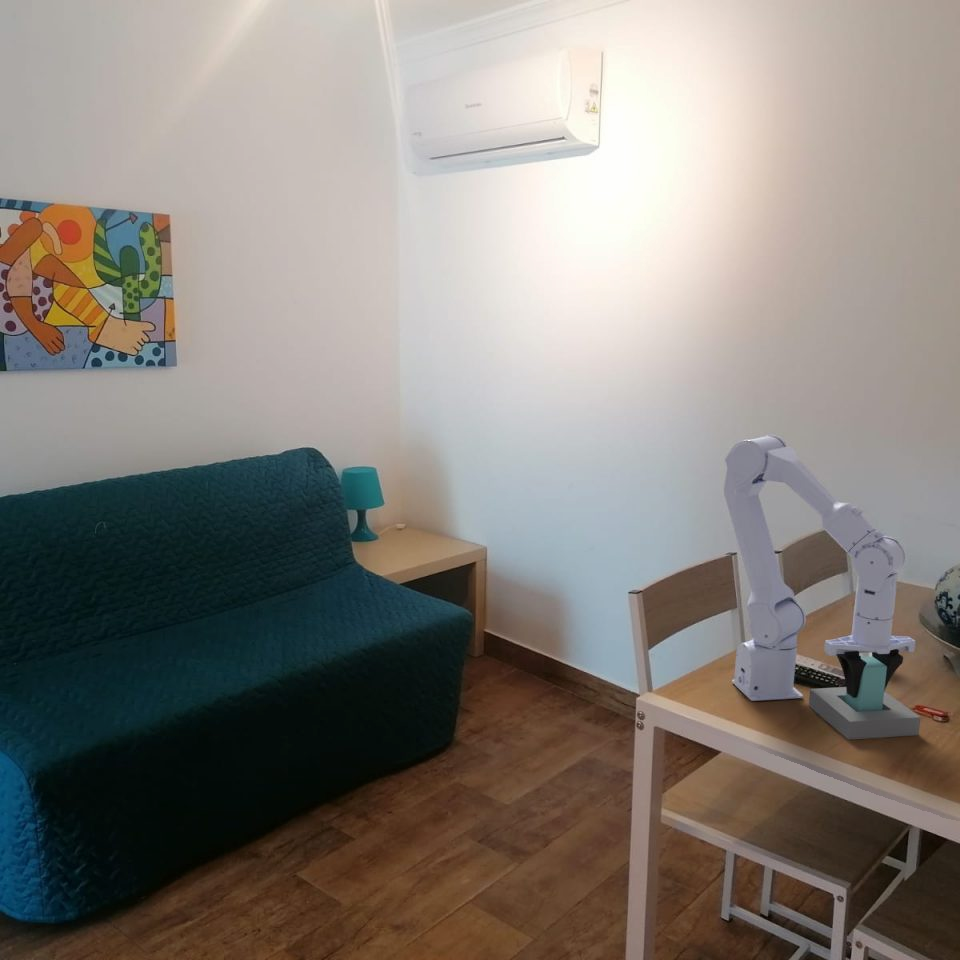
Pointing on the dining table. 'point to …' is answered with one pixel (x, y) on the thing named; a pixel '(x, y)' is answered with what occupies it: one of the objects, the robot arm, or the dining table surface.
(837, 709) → the socket block
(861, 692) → the peg
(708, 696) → the dining table surface
